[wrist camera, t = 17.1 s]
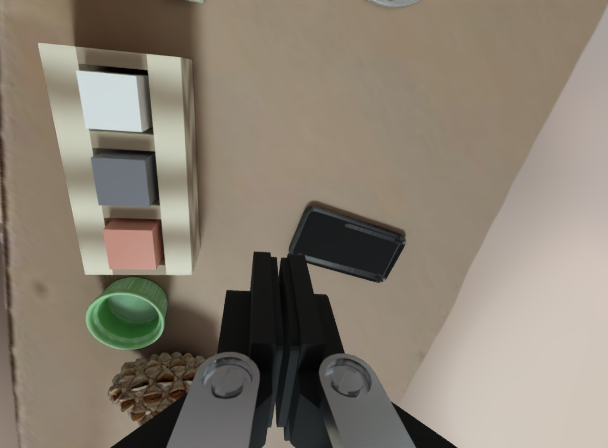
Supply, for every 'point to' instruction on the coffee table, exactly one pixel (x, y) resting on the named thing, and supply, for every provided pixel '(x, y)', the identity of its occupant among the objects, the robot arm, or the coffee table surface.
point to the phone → (346, 244)
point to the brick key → (134, 243)
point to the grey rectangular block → (125, 177)
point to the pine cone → (153, 384)
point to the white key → (115, 100)
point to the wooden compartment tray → (160, 138)
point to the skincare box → (199, 0)
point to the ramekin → (128, 314)
